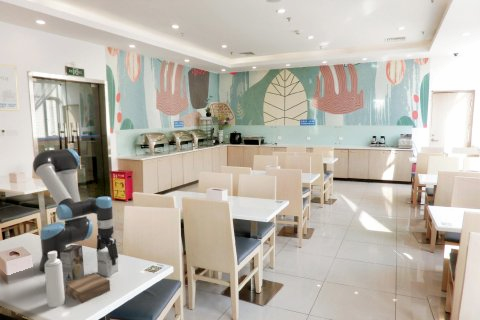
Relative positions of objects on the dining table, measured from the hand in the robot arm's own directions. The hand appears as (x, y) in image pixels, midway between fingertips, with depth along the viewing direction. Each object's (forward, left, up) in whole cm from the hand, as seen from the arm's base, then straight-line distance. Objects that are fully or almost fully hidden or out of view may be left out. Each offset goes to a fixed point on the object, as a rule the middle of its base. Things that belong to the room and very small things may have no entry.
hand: (108, 268), depth 180 cm
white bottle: (+9, -31, -3) cm, 32 cm away
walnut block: (+11, -17, -2) cm, 20 cm away
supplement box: (0, 0, -3) cm, 3 cm away
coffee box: (-9, -14, -3) cm, 17 cm away
